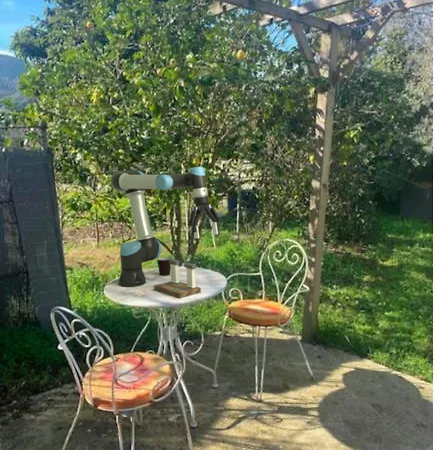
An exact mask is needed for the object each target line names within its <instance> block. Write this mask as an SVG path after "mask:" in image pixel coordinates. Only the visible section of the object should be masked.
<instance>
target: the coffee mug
mask: <svg viewBox="0 0 435 450" xmlns="http://www.w3.org/2000/svg"><path fill="white" fill-rule="evenodd" d="M171 259H172V257H170V256H169V257H168V256H164V257H158V258H157V259H156V261H157V267H158V272H159V276H160V277H167V276H171V268H170V264H169V260H171Z"/></svg>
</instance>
